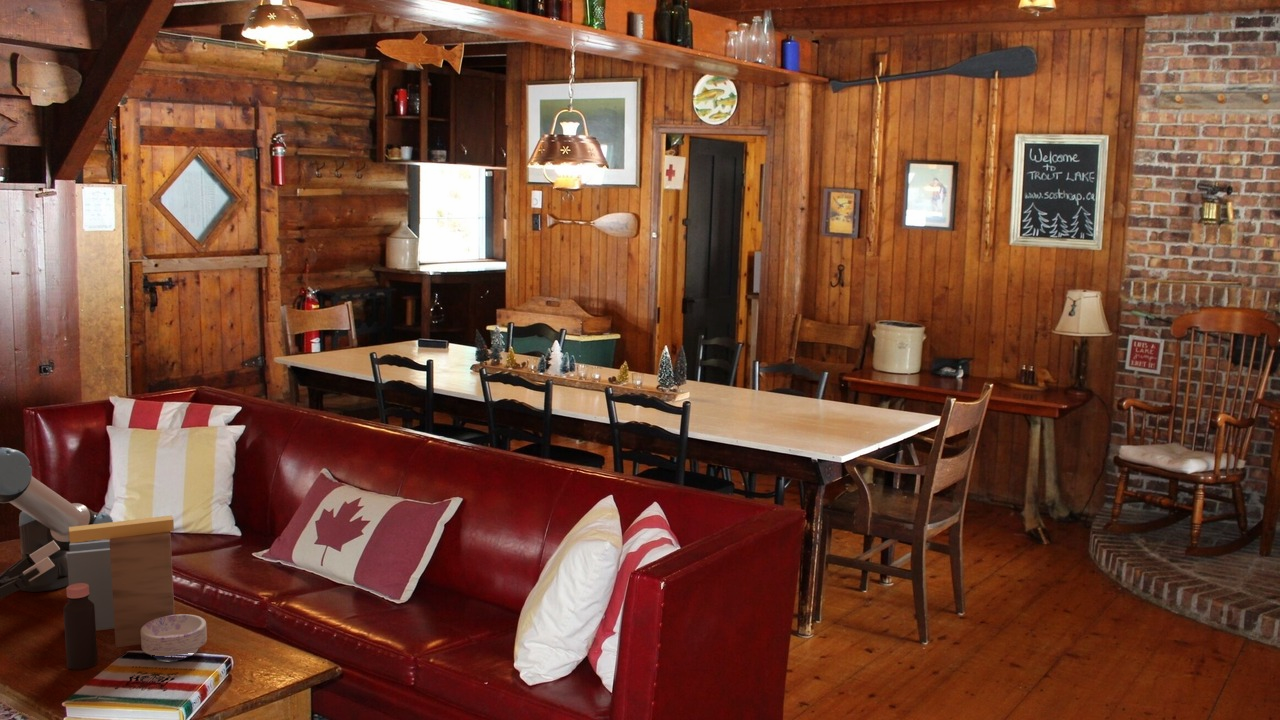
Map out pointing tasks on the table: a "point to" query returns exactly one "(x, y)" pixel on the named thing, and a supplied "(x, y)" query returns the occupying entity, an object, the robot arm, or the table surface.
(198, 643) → the paper bowls
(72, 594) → the bottle
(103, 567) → the grey u cradle
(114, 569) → the walnut pedestal
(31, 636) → the table surface
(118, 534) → the ochre bar
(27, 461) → the robot arm
